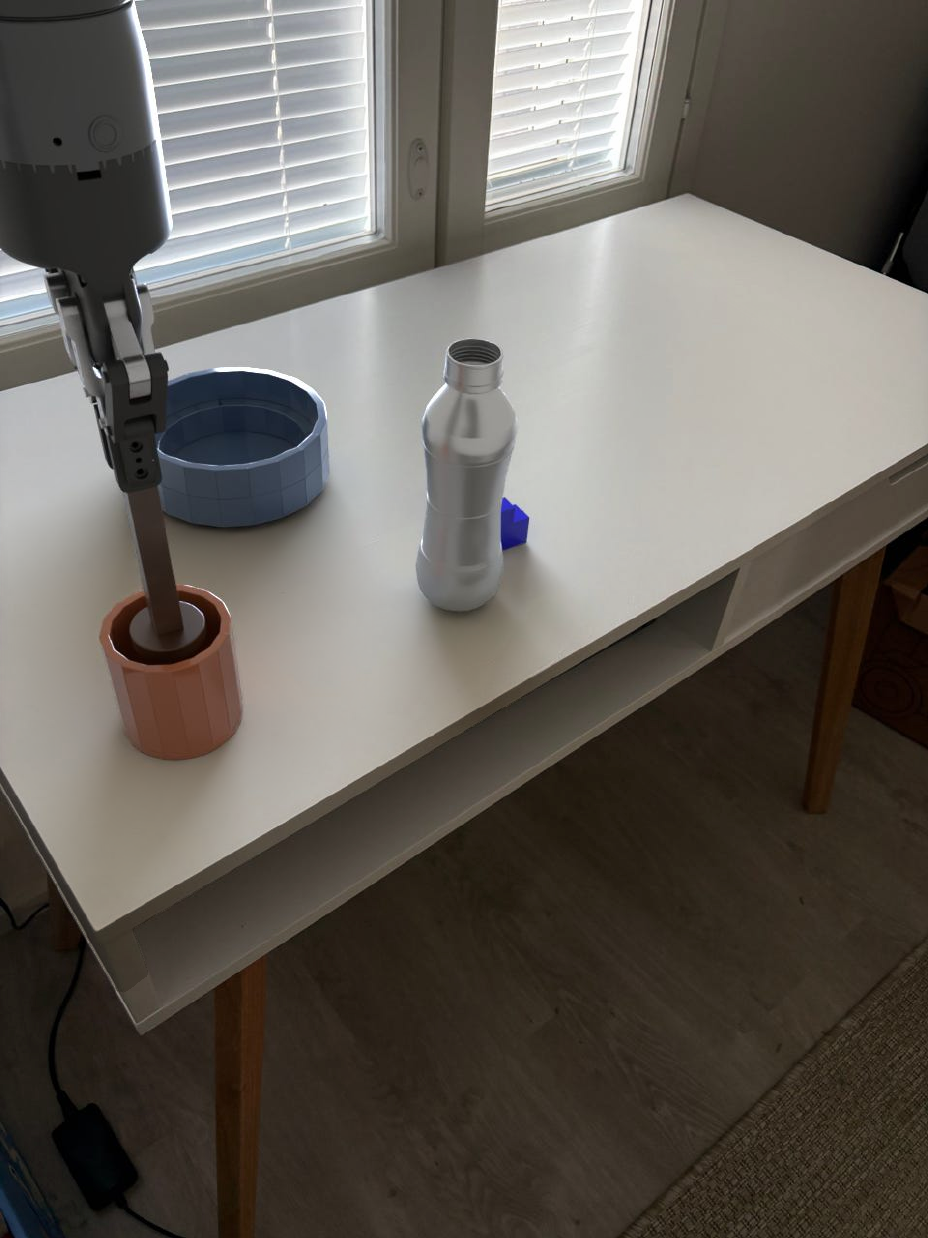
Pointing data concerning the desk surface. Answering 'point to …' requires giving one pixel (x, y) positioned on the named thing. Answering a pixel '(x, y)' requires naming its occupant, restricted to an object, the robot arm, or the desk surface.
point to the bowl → (241, 447)
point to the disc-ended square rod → (159, 587)
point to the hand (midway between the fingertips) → (134, 474)
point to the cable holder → (513, 525)
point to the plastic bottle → (466, 478)
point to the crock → (175, 682)
